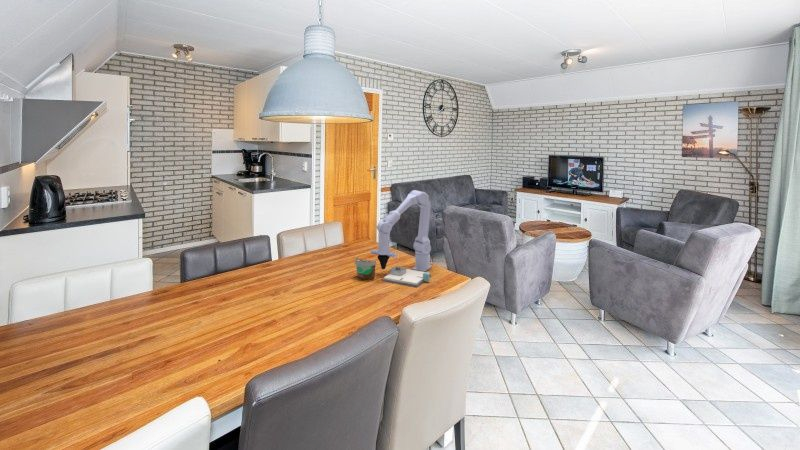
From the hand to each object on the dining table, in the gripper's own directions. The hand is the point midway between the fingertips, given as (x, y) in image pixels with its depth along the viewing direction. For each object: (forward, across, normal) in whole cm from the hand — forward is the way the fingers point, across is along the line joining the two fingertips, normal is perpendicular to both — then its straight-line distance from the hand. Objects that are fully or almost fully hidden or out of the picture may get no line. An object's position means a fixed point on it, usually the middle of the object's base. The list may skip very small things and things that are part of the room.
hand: (383, 268), depth 217 cm
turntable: (+2, +15, 0) cm, 16 cm away
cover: (+1, +8, 0) cm, 9 cm away
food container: (+4, -6, -11) cm, 13 cm away
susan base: (+3, +14, 0) cm, 14 cm away
